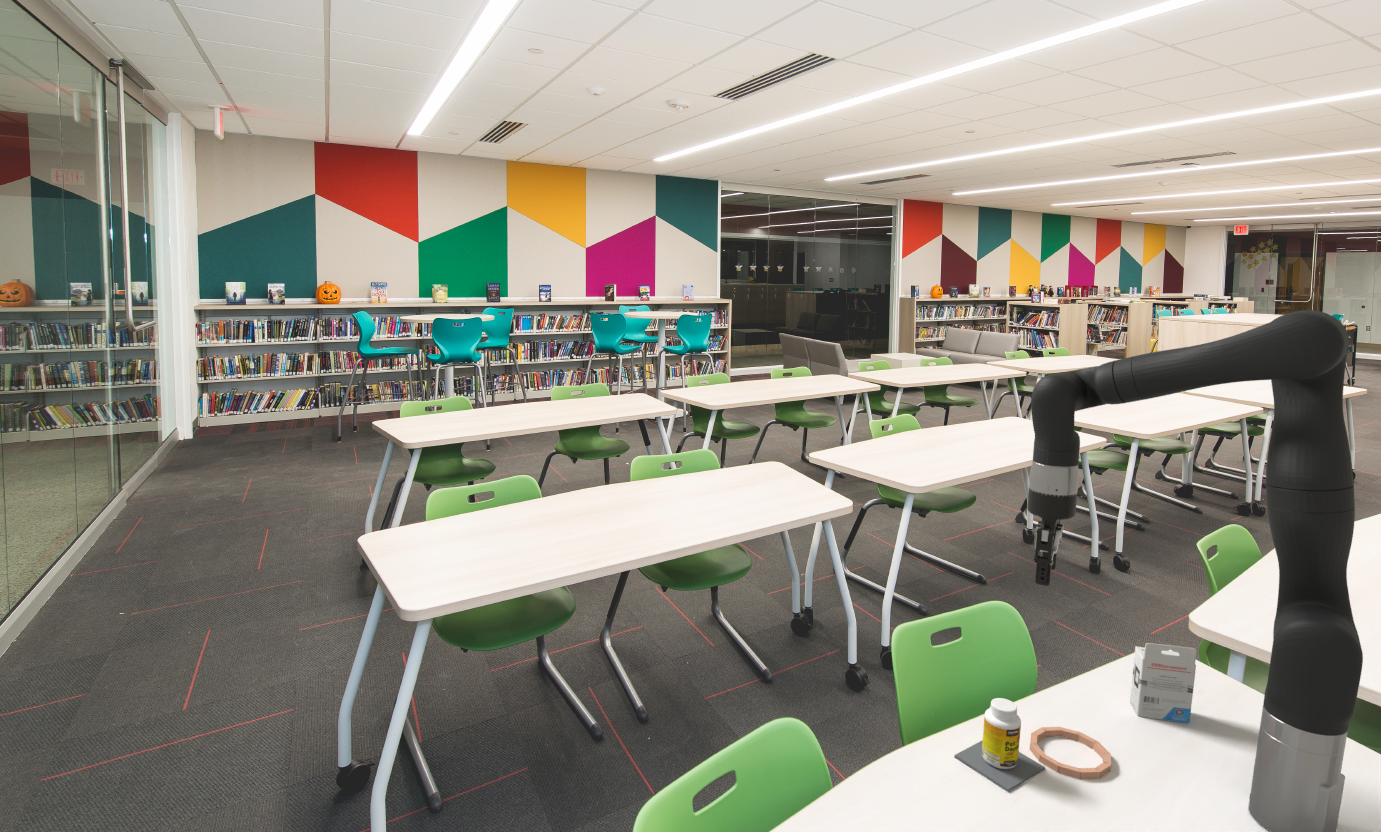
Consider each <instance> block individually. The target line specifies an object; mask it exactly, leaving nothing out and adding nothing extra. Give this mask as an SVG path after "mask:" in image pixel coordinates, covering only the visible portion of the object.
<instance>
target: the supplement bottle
mask: <svg viewBox="0 0 1381 832" xmlns="http://www.w3.org/2000/svg"><path fill="white" fill-rule="evenodd" d="M1017 712H1018V706H1017V705H1016V703H1015V702H1014V701H1012V700H1009V699H1007V698H1003V697H996V698H993V699H992V700H991V701H990V706H989V708H987V709H986V710H985V712H984V717H983V718H984V719H983V733H982V740H983V743H982V756H983V758H984V760H985V761H986V762H987V763H989V764H990V765H992V766H994V767H996V768H1000V769H1011V768H1013V767H1015V766H1016V765H1017V762H1018V752H1020V751H1019V750H1020V739H1021V730H1022V729H1021V728H1022V720H1021V718H1020V716H1019V715H1018V713H1017Z"/></svg>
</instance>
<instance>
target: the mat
mask: <svg viewBox="0 0 1381 832" xmlns="http://www.w3.org/2000/svg"><path fill="white" fill-rule="evenodd" d="M982 743H983V739H982V740H980V741H979V742H977V743H976V742H975V743H974V744H973V745H971V746H969V747H967V748H965V749H963V750H961V751H960V752H957V753H956V754H954V758H955V759H957V760H958V761H959V762H961V763H962V764H964V765H965V766H967V767H969V768H970V769H972V770H973V771H975V772H977V774H980V775H981V776H983V777H984V778H985V779H987V780H989V781H991V782H992V783H993V784H995V785H996V786H998V787H1000V788H1001V789H1002V790H1004V791H1005V792H1007V793H1009V792H1010V791H1012V790H1013V789H1015V788H1017V787H1019V786H1020V785H1022V784H1023V783H1025V782H1026V781H1029V780H1031V779H1033V777H1035V776H1037V775H1038V774H1040V773H1042V772H1043V771H1045V770H1046V767H1045V765H1042V763H1040V762H1038V761H1036V760H1034V759H1033V758H1030V757H1029V756H1027V755H1025V754H1023V753H1022V752H1020V751H1019V752H1018V762H1017V765H1016V766H1015V767H1013V768H1011V769H1000V768H996V767H994V766H992V765H990V764H989V763H987V762H986V761H985V760H984V758H983V756H982Z"/></svg>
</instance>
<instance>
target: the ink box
mask: <svg viewBox="0 0 1381 832" xmlns="http://www.w3.org/2000/svg"><path fill="white" fill-rule="evenodd" d="M1144 644H1145V645H1144V647H1142V646H1134V657H1133V668H1132V676H1131V688H1130V696H1129V704H1130V706H1131V707H1132V709H1133V710H1134V712H1135V715H1137V716H1138V717H1141V718H1149V719H1154V720H1155V719H1156V720H1161V721H1162V720H1163V721H1170V722H1178V723H1185V724H1190V721H1191V713H1192V705H1193V697H1194V695H1193V694H1194V687H1195V679H1196V678H1195V677H1196V668H1197V665H1196V659H1197V652H1198V651H1197V649H1196V648H1195V647H1187V646H1179V645H1170V644H1161V643H1152V642H1147V643H1144Z"/></svg>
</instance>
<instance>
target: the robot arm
mask: <svg viewBox="0 0 1381 832" xmlns="http://www.w3.org/2000/svg"><path fill="white" fill-rule="evenodd" d="M1349 347H1350V337H1349V333H1348V330H1347V329H1346V326H1345V325H1344V324H1343V323H1342V322H1341V321H1340V320H1339V319H1338V318H1336V317H1335V316H1333V315H1331V314H1329V313H1327V312H1324V311H1321V310H1314V309H1311V310H1310V309H1308V310H1307V309H1305V310H1304V309H1302V310H1297V311H1293V312H1288V313H1285V314H1282V315H1280V316H1278V317H1276V318H1274V319H1272V321H1270V322H1267V323H1265V324H1262V325H1260V326H1256V327H1254V328H1251V329H1249V330H1246V331H1243V332H1240V333H1237V334H1235V335H1231V336H1228V337H1225V338H1221V339H1218V340H1213V341H1211V342H1206V343H1202V344H1196V345H1191V346H1185V347H1179V348H1172V349H1165V350H1158V351H1152V352H1148V353H1142V354H1138V355H1133V356H1129V357H1124V358H1119V359H1115V360H1112V361H1107V362H1105V363H1102V364H1100V365H1098V366H1097V365H1096V366H1092V367H1091V366H1090V367H1084V368H1079V369H1074V370H1073V369H1072V370H1068V371H1063V372H1058V373H1053V374H1049V375H1045V376H1044V377H1042V378H1041V379H1039V380H1038V381H1037V382H1036V384H1035V385H1034V387H1033V390H1032V392H1031V399H1030V411H1031V419H1032V427H1033V432H1034V441H1033V452H1032V453H1033V454H1032V460H1031V461H1032V462H1031V467H1030V472H1029V481H1028V482H1029V484H1028V494H1027V511H1028V513H1030V514H1031V515H1033V516H1038V517H1039V518H1040V519H1041V520H1038V521H1037V524H1036V525H1035V535H1036V536H1035V542H1034V548H1035V554H1034V558H1033V561H1034V563H1035V564H1036V569H1035V580H1034V581H1035V583H1036V584H1037V585H1039V586H1045V587H1047V586H1050V583H1051V575H1052V571H1054V570H1055V569H1056V565H1057V556H1058V549H1059V548H1060V543H1061V542H1062V537H1063V532H1064V523H1062V520H1070V519H1072V518H1074V517H1075V516H1076V512H1077V503H1078V502H1077V501H1078V489H1079V478H1080V477H1079V475H1080V474H1079V459H1080V448H1081V439H1080V435H1079V433H1078V432H1077V431H1076V430H1075V412H1079V411H1083V410H1085V409H1086V410H1087V409H1090V408H1095V407H1099V406H1104V405H1120V404H1127V403H1133V402H1139V401H1143V400H1150V399H1154V398H1159V397H1165V396H1169V395H1174V394H1178V393H1183V392H1187V391H1191V390H1196V389H1201V388H1206V387H1210V386H1217V385H1225V384H1233V383H1242V382H1253V381H1255V382H1256V381H1270V380H1271V389H1272V397H1273V409H1274V410H1273V422H1272V426H1271V432H1270V438H1269V443H1268V449H1267V450H1268V451H1267V457H1266V468H1265V469H1266V470H1265V473H1266V474H1265V490H1266V507H1267V517H1268V524H1269V528H1270V533H1271V537H1272V541H1273V546H1274V549H1275V554H1276V557H1277V563H1278V572H1279V574H1278V593H1277V603H1276V604H1277V605H1276V606H1277V607H1276V610H1275V611H1276V612H1275V617H1274V621H1273V631H1272V632H1273V633H1272V634H1273V635H1272V637H1273V639H1272V647H1271V654H1270V661H1269V668H1268V675H1267V676H1268V677H1267V681H1266V687H1265V690H1264V698H1263V702H1262V703H1263V704H1262V711H1261V718H1260V723H1259V731H1258V736H1257V737H1258V738H1257V745H1256V751H1255V759H1254V765H1253V766H1254V767H1253V771H1252V772H1253V773H1252V780H1251V786H1250V787H1251V788H1250V792H1249V793H1250V794H1249V798H1248V799H1249V800H1248V801H1249V802H1248V811H1249V815H1250V816H1251V817H1252V818H1253V820H1255V821H1256V823H1258V824H1259V825H1260V826H1261V827H1262V828H1263V829H1266V830H1267V831H1268V832H1337V830H1338V829H1337V828H1338V822H1339V817H1340V810H1341V805H1342V799H1343V793H1344V787H1345V783H1346V782H1345V780H1346V776H1345V774H1344V773H1342V770H1343V769H1342V768H1343V761H1344V756H1345V750H1346V749H1345V748H1346V743H1347V738H1348V731H1349V727H1350V721H1351V719H1352V718H1353V716H1354V713H1355V708H1356V702H1357V698H1358V692H1359V687H1360V682H1361V678H1362V670H1363V661H1364V656H1363V655H1364V654H1363V648H1362V644H1361V640H1360V636H1359V632H1358V630H1357V626H1356V624H1355V620H1354V615H1353V610H1352V605H1351V600H1350V593H1349V587H1348V576H1347V575H1348V574H1347V572H1348V570H1347V569H1348V562H1349V559H1350V558H1349V557H1350V553H1351V549H1352V548H1351V547H1352V543H1353V537H1354V530H1355V517H1356V504H1355V502H1356V501H1355V481H1354V473H1353V463H1352V456H1351V455H1352V454H1351V449H1350V448H1351V447H1350V444H1349V443H1350V442H1349V436H1348V432H1347V426H1346V422H1345V417H1344V415H1345V414H1344V404H1343V403H1344V402H1343V401H1344V385H1345V384H1344V383H1345V375H1346V374H1345V372H1346V364H1347V357H1348V352H1349ZM1041 553H1042V555H1041Z"/></svg>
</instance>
